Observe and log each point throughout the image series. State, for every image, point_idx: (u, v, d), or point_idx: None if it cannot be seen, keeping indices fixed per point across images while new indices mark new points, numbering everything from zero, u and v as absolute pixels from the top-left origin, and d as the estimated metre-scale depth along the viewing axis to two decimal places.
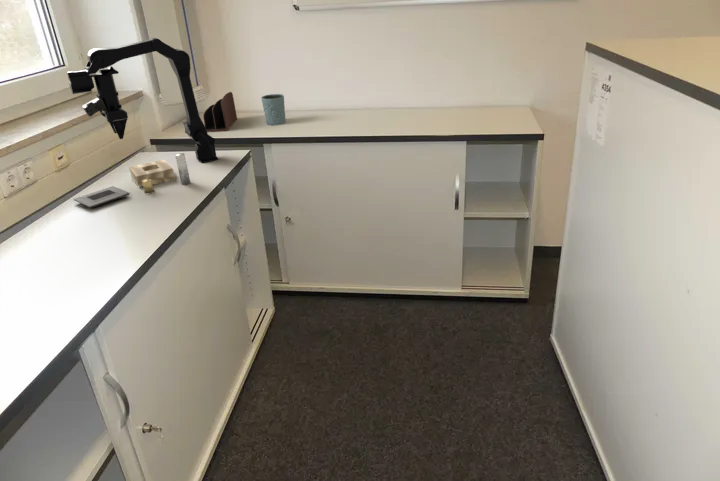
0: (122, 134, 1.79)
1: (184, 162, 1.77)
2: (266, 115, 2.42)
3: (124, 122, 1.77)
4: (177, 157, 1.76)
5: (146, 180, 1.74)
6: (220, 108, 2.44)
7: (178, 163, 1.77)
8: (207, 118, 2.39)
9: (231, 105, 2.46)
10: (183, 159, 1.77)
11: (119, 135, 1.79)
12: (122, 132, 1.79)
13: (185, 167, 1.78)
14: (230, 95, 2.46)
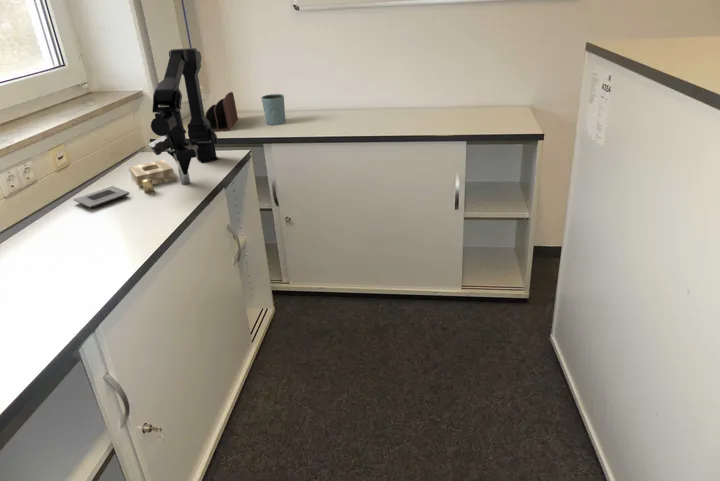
0: (186, 170, 1.78)
1: None
2: (266, 115, 2.42)
3: (189, 158, 1.75)
4: None
5: (146, 179, 1.74)
6: (222, 108, 2.44)
7: (178, 163, 1.77)
8: (209, 118, 2.39)
9: (232, 105, 2.46)
10: None
11: (183, 171, 1.77)
12: (186, 168, 1.77)
13: None
14: (231, 95, 2.46)
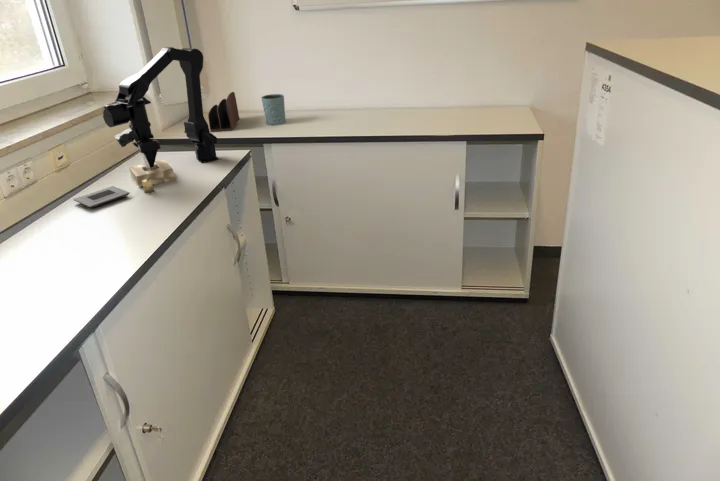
0: (153, 162, 1.82)
1: None
2: (266, 115, 2.42)
3: (155, 151, 1.79)
4: None
5: (146, 180, 1.74)
6: (224, 108, 2.44)
7: (145, 159, 1.82)
8: (211, 118, 2.38)
9: (234, 105, 2.46)
10: None
11: (150, 163, 1.81)
12: (153, 160, 1.81)
13: None
14: (233, 95, 2.46)
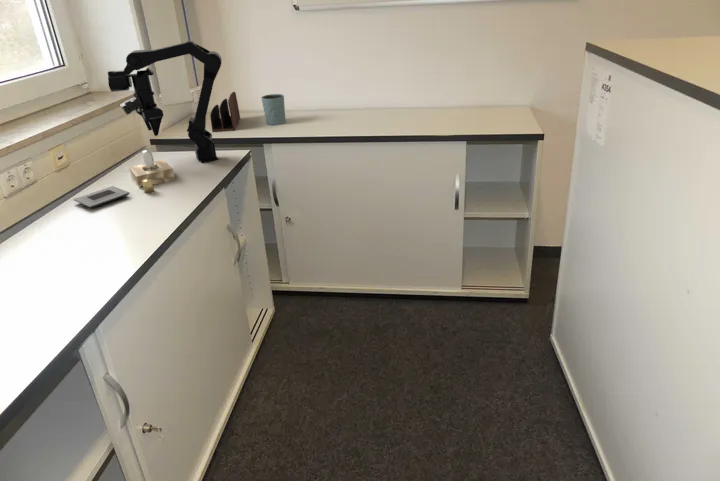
0: (157, 131, 1.90)
1: (150, 158, 1.83)
2: (266, 115, 2.42)
3: (159, 120, 1.88)
4: (143, 153, 1.81)
5: (146, 179, 1.74)
6: (225, 108, 2.44)
7: (145, 159, 1.82)
8: (213, 118, 2.38)
9: (235, 105, 2.46)
10: (149, 155, 1.82)
11: (154, 132, 1.90)
12: (157, 129, 1.90)
13: (152, 163, 1.84)
14: (234, 95, 2.46)
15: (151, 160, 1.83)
